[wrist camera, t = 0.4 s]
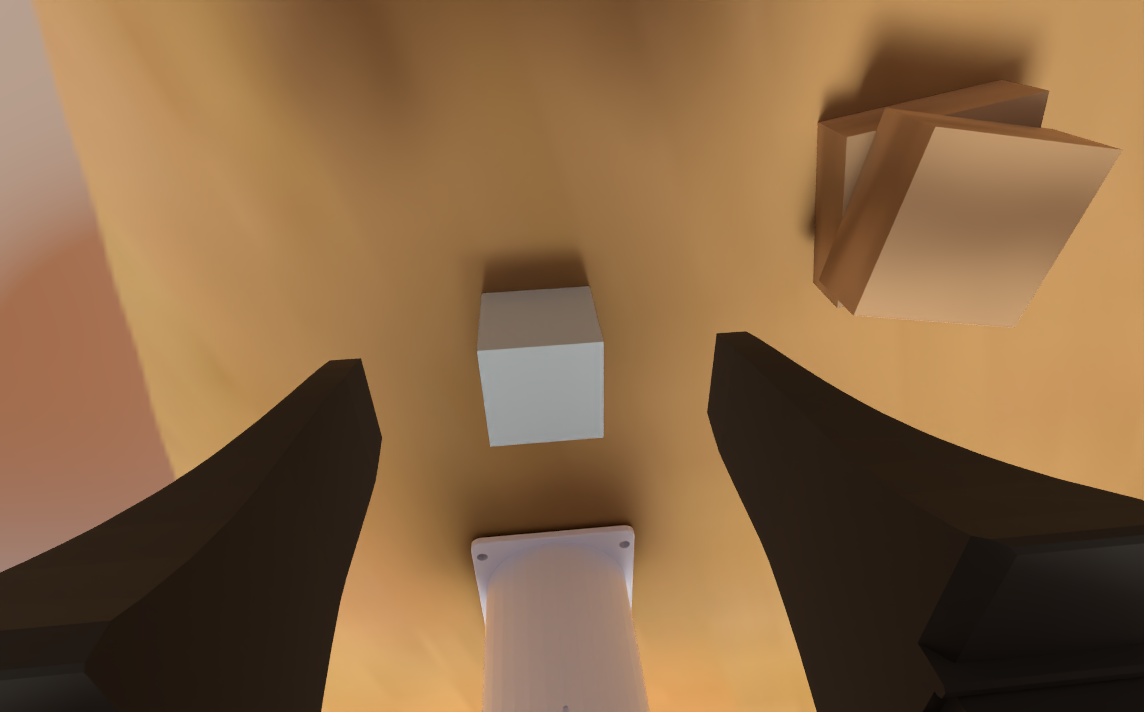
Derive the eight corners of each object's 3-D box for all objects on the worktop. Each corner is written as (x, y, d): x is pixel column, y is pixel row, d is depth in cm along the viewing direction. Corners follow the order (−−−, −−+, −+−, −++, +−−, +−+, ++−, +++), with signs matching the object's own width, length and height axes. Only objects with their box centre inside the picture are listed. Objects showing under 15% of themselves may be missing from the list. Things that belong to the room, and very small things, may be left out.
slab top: (965, 292, 21) (1014, 327, 19) (818, 280, 20) (853, 315, 18) (1052, 129, 18) (1122, 149, 16) (884, 107, 17) (935, 126, 15)
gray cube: (590, 372, 24) (603, 437, 21) (492, 380, 24) (490, 446, 21) (589, 284, 22) (603, 341, 19) (481, 292, 22) (477, 350, 18)
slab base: (962, 243, 23) (1007, 271, 21) (808, 277, 23) (837, 308, 21) (992, 77, 20) (1049, 91, 17) (811, 119, 20) (847, 137, 18)
